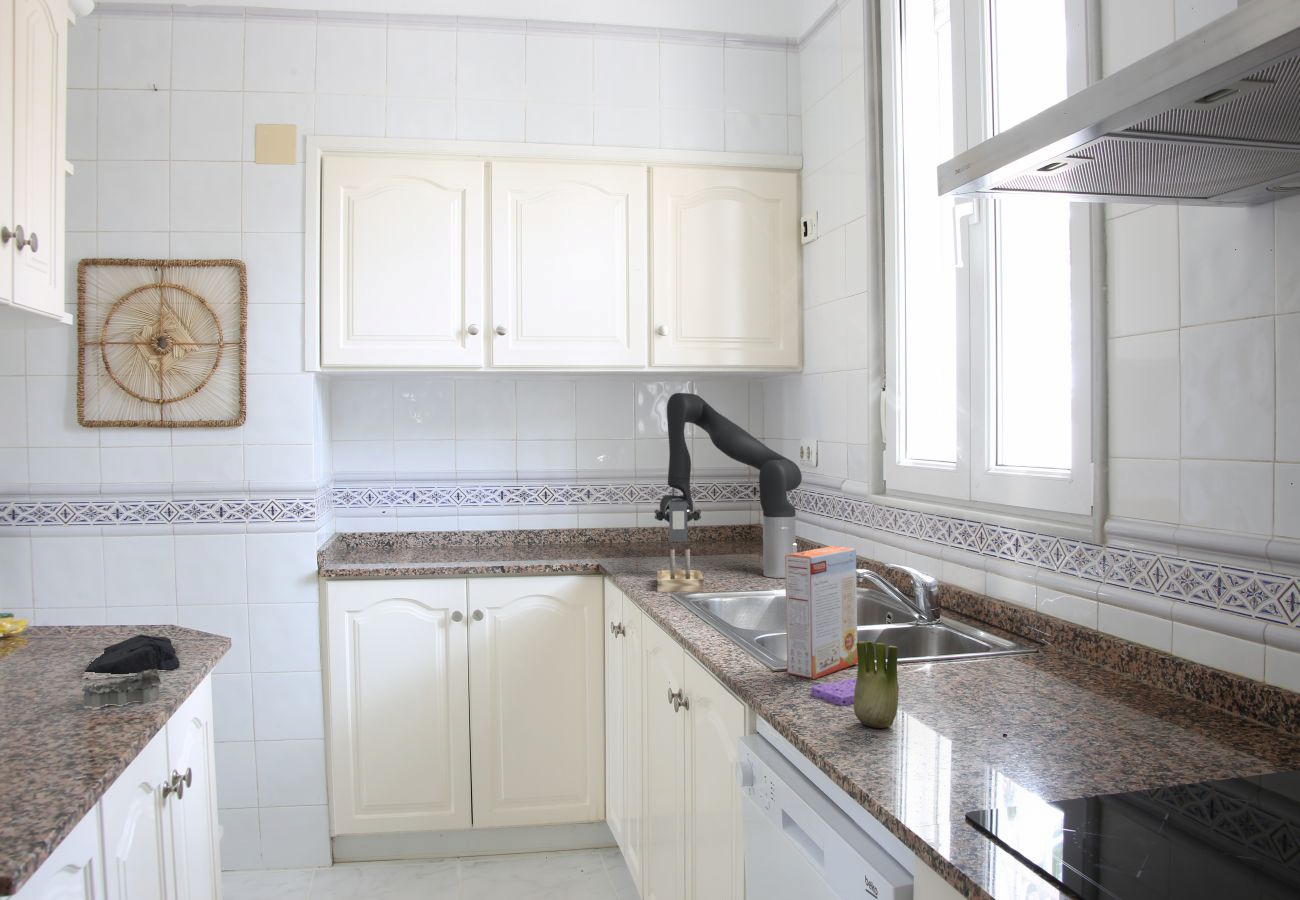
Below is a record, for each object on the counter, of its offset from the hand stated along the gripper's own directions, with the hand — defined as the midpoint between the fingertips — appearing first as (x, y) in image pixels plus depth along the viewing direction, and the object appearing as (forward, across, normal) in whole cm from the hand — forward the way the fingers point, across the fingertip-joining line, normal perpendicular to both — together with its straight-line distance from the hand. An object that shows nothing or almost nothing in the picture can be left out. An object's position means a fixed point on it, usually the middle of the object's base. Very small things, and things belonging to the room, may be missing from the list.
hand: (678, 517), depth 250 cm
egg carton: (+111, -90, +17) cm, 144 cm away
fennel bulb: (+124, +26, +17) cm, 128 cm away
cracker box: (+94, +23, +17) cm, 98 cm away
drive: (-3, 0, +6) cm, 7 cm away
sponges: (+108, +26, +17) cm, 113 cm away
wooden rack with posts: (+10, 0, +17) cm, 20 cm away
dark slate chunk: (+88, -102, +18) cm, 136 cm away
